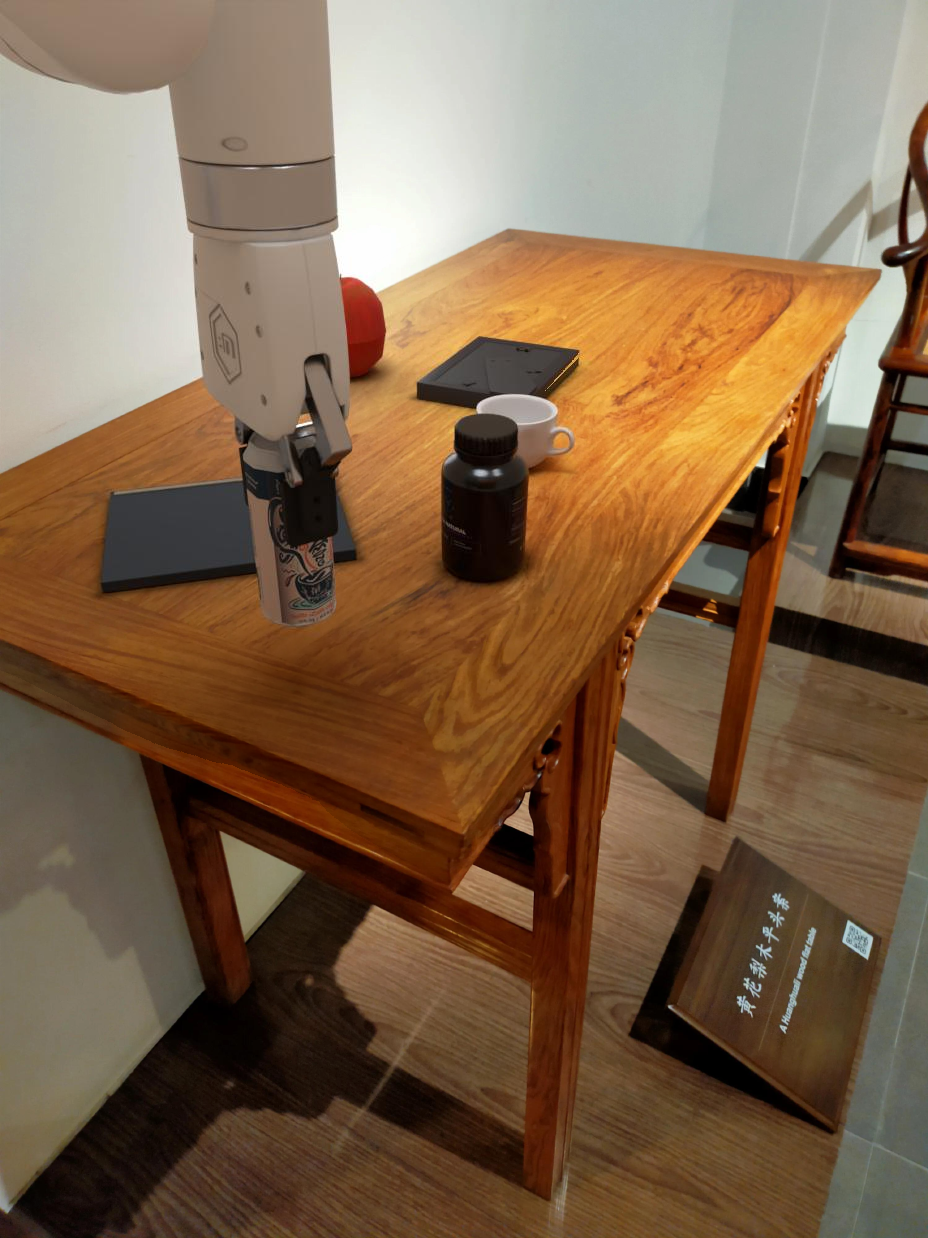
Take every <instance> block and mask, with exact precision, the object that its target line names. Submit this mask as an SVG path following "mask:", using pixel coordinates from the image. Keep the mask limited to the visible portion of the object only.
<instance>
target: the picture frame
mask: <svg viewBox="0 0 928 1238" xmlns="http://www.w3.org/2000/svg"><path fill="white" fill-rule="evenodd" d="M578 353H579V354H580V349H575V348H567V347H562V346H561V347H560V346H553V345H547V344H541V343H532V342H525V341H517V340H510V339H503V338H496V337H487V336H481V335H479V336H477V337H476V338H474V339H473V340H472V341H471V342H469V343H468V344H466V345H465V346H464V347H462V348H461V349H459V350H458V351H457V352H455V353H454V354H453V355H451V356H450V357H449V358H447V359H446V360H444V361H443V362H442V363H440V364H439V365H437V367H435V368H434V369H433V370H430V372H429V373H427V374H426V375H424V376H423V377H422V378H420V379H419V380H417V381H416V398H417V399H420V400H425V401H431V402H436V403H443V404H448V405H454V406H459V407H466V408H470V409H471V408H472V409H477V405H478V404H479V403H480V402H481V401H483V400H485V399H487V398H490V397H493V396H498V395H508V394H520V395H530V396H535V397H539V398H543V399H545V400H546V398H547V397H548V396H549V395H550V394H551V393H552V392H554V390H555V389H557V387H558V386H559V385H560V384H561V383H562V382H563V381H564V380H565V379H566V378H567V377H568V376H569V375H570V374H571V373H572V372H573V371H574V370H575V369H577V367H578V366H579V363H580V357H579V358H578V359H577V360H576V361H575V362H574V363H573V364H572V365H571V366H570V367H569V368H568V369H567V370H566V371H565V372H564V373H563V374H562V375H561V376H560V377H559V378H558V379H557V380H556V381H555V382H554V380H555V379H556V378H557V377H558V376H559V375H560V374H561V373H562V372H563V370H565V368H566V367H567V366H568V365H569V364H570V363H571V362H572V360H574V358H575V357H576V356H577V355H578ZM553 382H554V383H553ZM552 383H553V384H552ZM551 384H552V385H551ZM550 385H551V386H550ZM549 386H550V387H549ZM548 387H549V388H548ZM547 388H548V389H547ZM545 390H546V391H545Z"/></svg>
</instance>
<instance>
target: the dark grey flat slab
mask: <svg viewBox="0 0 928 1238" xmlns="http://www.w3.org/2000/svg"><path fill="white" fill-rule="evenodd" d="M336 500H337V517H338V532H337V534H336V535H334V536H332V547H333V562H334V563H336V562H337V563H338V562H347V561H352V560H357V558H358V557H357V549H356V546H355V543H354V539H353V536H352V533H351V529H350V526H349V523H348V520H347V518H346V517H347V516H346V514H345V512H344V508H343V506H342V502H341V499H340V496H339V493H338V490H337V489H336ZM106 521H107V522H106V527H105V528H106V530H105V539H104V547H103V555H102V565H101V574H100V575H101V576H100V587H101V590H102V593H104V594H105V593H113V592H121V591H127V590H135V589H136V590H137V589H142V588H151V587H158V586H166V585H173V584H180V583H181V584H182V583H188V582H195V581H202V580H203V581H204V580H211V579H219V578H226V577H233V576H241V575H247V574H255V573H256V574H257V570H256V562H255V554H254V545H253V537H252V529H251V520H250V512H249V507H248V506H247V505H246V503H245V496H244V488H243V479H242V476H237V477H229V478H228V477H227V478H220V479H210V480H203V481H202V480H201V481H193V482H192V481H191V482H185V483H174V484H166V485H165V484H164V485H158V486H150V487H149V486H147V487H139V488H131V489H122V490H113V491H110V493H109V501H108V511H107V520H106Z"/></svg>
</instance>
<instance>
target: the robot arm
mask: <svg viewBox="0 0 928 1238" xmlns="http://www.w3.org/2000/svg"><path fill="white" fill-rule="evenodd" d="M328 11H329V10H328V0H0V55H1V56H3V57H5V58H6V59H7V60H9V61H10V62H11V63H13V64H16V65H17V66H19V67H21V68H23V69H24V70H27V71H29V72H31V73H34V74H37V75H39V76H41V77H45V78H49V79H52V80H55V81H59V82H61V83H68V84H74V85H79V86H82V87H86V88H88V89H91V90H96V91H99V92H102V93H108V94H113V95H121V96H130V95H131V96H134V95H142V94H148V93H151V92H155V91H158V90H160V89H162V88H164V87H166V86H167V87H168V92H169V93H168V94H169V99H170V100H169V101H170V106H171V114H172V115H171V116H172V122H173V129H174V137H175V143H176V151H177V155H178V156H177V159H178V166H179V173H180V180H181V181H180V182H181V187H182V196H183V204H184V210H185V217H186V225H187V230H188V232H189V233H190V234H193V235H192V265H193V268H192V269H193V286H194V287H193V288H194V298H195V299H194V300H195V310H196V311H195V312H196V321H197V333H198V334H197V335H198V344H199V353H200V364H201V374H202V380H203V384H204V386H205V389H206V391H207V392H208V394H209V395H210V396H211V397H212V398H213V400H215V401H216V402H217V403H218V404H220V405H221V406H222V407H223V408H225V409H226V410H227V411H228V412H229V413H231V415H233V417H234V436H235V439H236V441H237V444H239V445H240V447H238V453H239V461H240V462H239V463H240V470H241V477H242V479H243V488H244V496H245V503H246V505H247V506H248V507H249V504H248V495H247V487H246V478H245V470H244V462H243V453H244V452H245V450H246V449H247V446H248V443H249V439H250V437H251V436H252V434H253V432H257V433H258V434H259V435H261V436H262V437H264V438H266V439H268V440H271V441H276V440H278V442H279V447H280V452H281V457H282V462H283V467H284V472H285V477H286V480H287V481H283V482H279V483H280V494H281V504H282V514H283V524H284V534H285V541H286V542H287V543H288V544H289V545H290V546H291V547H298V546H301V545H304V544H308V543H311V542H315V541H318V540H322V539H325V538H328V537H332V536H334V535H336V534H337V532H338V517H337V500H336V490H337V486H336V478H337V477H338V476H339V473H340V470H339V466H340V464H341V463H342V461H343V460H344V459H345V458H346V457H347V456H348V455H350V454H351V453H352V451H353V442H352V439H351V435H350V433H349V430H348V427H347V424H346V422H347V420H348V418H349V415H350V407H351V377H350V374H349V357H348V345H347V334H346V324H345V315H344V306H343V299H342V291H341V283H340V272H339V265H338V257H337V253H336V247H335V240H334V236H333V234H332V233H334V232H335V231H337V230H338V228H339V208H338V190H337V188H338V187H337V186H338V185H337V170H336V169H337V168H336V166H337V165H336V156H335V155H336V152H335V150H336V149H335V148H336V147H335V133H334V112H333V110H334V108H333V93H332V72H331V69H332V68H331V51H330V34H329V33H330V32H329V31H330V30H329V13H328ZM307 414H309V417H310V419H311V421H307V422H303V423H299V421H300V417H301V416H302V415H307ZM298 423H299V424H298ZM314 435H315V438H316V442H315V443H314V446H312V447H310V448H306V449H305V450H304V452H303V453H302V455H301V457H300V458H299V456H298V451H297V446H296V440H297V439H301V438H306V437H310V436H314ZM244 445H245V446H244Z"/></svg>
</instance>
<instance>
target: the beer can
mask: <svg viewBox="0 0 928 1238" xmlns="http://www.w3.org/2000/svg"><path fill="white" fill-rule="evenodd" d="M315 442H316V438H315V435H314V436H310V437H306V438H301V439H297V440H296V446H297V451H298V456H299V458H300V457H301V455H302V453H303V452H304V450H305V449H306V448H310V447H312V446H314V443H315ZM246 446H247V445H246ZM243 462H244V470H245V478H246V487H247V495H248V504H249V512H250V520H251V529H252V537H253V545H254V554H255V562H256V570H257V572H256V578H257V586H258V594H259V604H260V609H261V610H260V611H261V613H262V615H263V616H264V617H265V618H266V619H267V620H269V621H270V622H272V623H274V624H277V625H279V626H284V627H288V628H302V627H303V628H305V627H309V626H313V625H315V624H317V623H320V622H322V621H324V620H326V619H327V618H329V617H330V616H331V615H332V614H333V613H334V612H335V610H336V607H337V596H336V582H335V581H336V579H335V567H334V566H335V562H333V547H332V537H328V538H325V539H322V540H318V541H315V542H311V543H308V544H304V545H301V546H298V547H291V546H290V545H289V544H288V543H287V542H286V541H285V534H284V524H283V514H282V504H281V494H280V483H279V482H283V481H287V480H286V477H285V472H284V467H283V462H282V457H281V452H280V447H279V442H278V440H276V441H271V440H268V439H266V438H264V437H262V436H261V435H259V434H258V433H257V432H253V434H252V436H251V437H250V439H249V443H248V446H247V449H246V450H245V452H244V453H243Z"/></svg>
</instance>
